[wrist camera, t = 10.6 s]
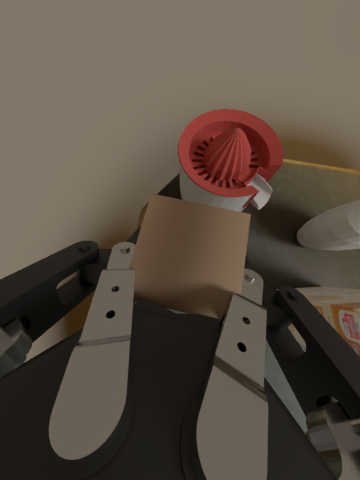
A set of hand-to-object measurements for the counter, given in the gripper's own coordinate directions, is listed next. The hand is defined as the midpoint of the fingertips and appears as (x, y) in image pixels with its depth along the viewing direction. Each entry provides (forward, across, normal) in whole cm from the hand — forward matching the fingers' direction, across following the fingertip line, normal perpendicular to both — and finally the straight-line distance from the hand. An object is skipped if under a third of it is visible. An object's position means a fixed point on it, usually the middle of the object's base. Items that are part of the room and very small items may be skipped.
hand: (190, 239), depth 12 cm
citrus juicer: (+28, -4, +6) cm, 29 cm away
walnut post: (+2, 0, +4) cm, 5 cm away
